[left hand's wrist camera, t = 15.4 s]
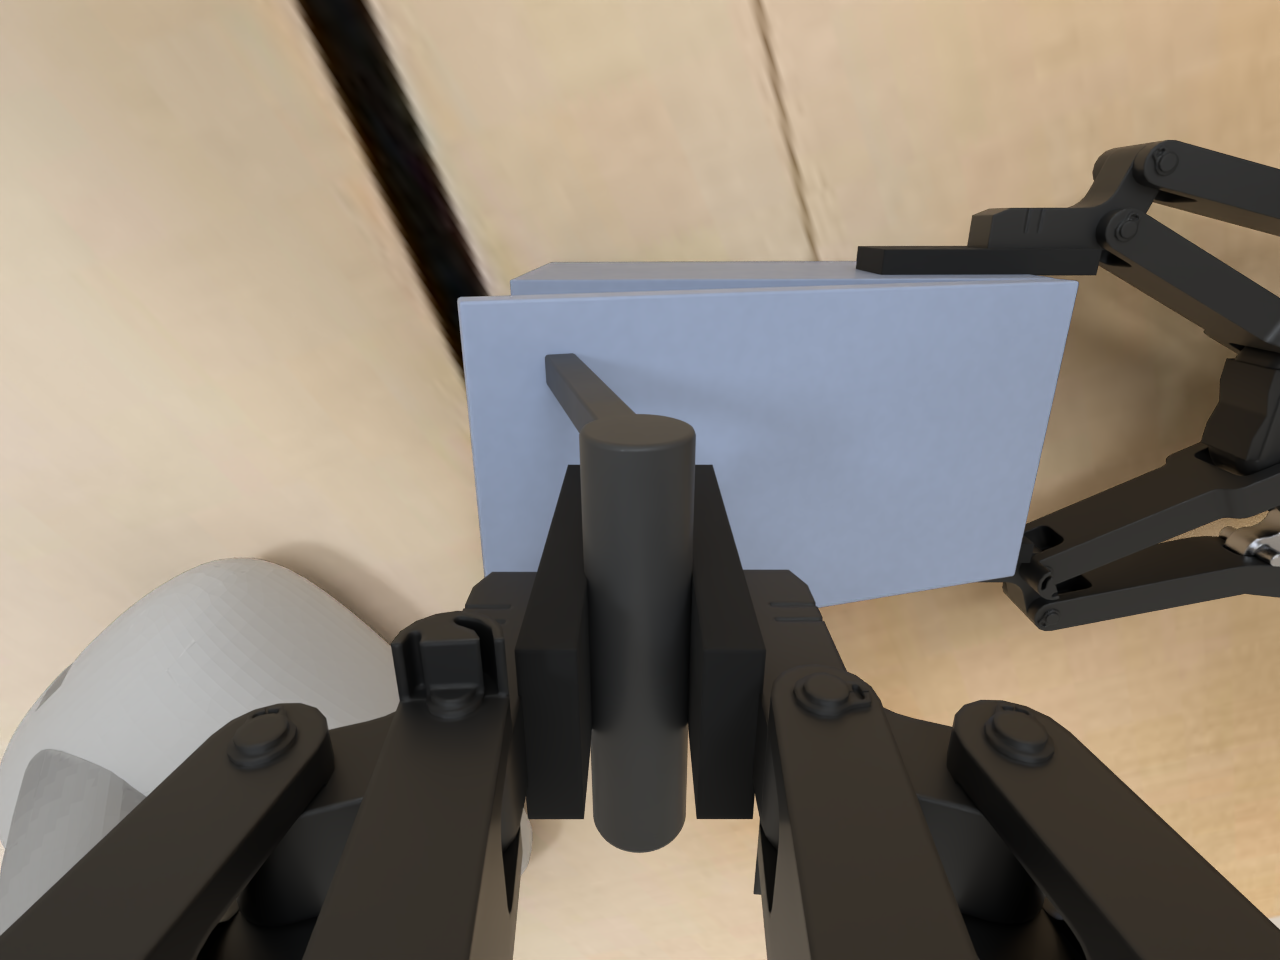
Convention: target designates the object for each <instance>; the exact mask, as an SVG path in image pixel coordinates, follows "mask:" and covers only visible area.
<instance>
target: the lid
mask: <svg viewBox="0 0 1280 960" xmlns="http://www.w3.org/2000/svg"><path fill="white" fill-rule="evenodd" d="M1078 285H1079V282H1077V281H1074V280H1064V279H1053V278H1052V279H1020V280H989V281H957V282H925V283H894V284H862V285H830V286H799V287H767V288H735V289H704V290H672V291H640V292H609V293H577V294H545V295H514V296H482V297H460V298H458V301H457V302H458V313H459V323H460V333H461V343H462V353H463V363H464V374H465V384H466V394H467V404H468V414H469V424H470V435H471V445H472V455H473V465H474V475H475V485H476V496H477V506H478V516H479V526H480V536H481V546H482V557H483V567H484V577H486V576H488V575H489V574H490V573H491V572H537V570H538V567H539V563H540V560H541V556H542V553H543V550H544V546H545V543H546V539H547V536H548V532H549V529H550V525H551V522H552V518H553V515H554V512H555V508H556V505H557V501H558V498H559V494H560V491H561V487H562V484H563V480H564V477H565V474H566V470H567V467H568V465H580V477H581V504H582V530H583V556H584V573H585V576H586V577H587V584H588V615H589V645H590V676H591V706H592V736H591V766H592V793H593V817H594V822H595V825H596V827H597V829H598V831H599V832H600V834H601V835H602V837H603V838H604V839H605V840H606V841H607V842H609V843H610V844H611V845H613V846H615V847H617V848H619V849H621V850H624V851H628V852H636V853H643V852H650V851H654V850H657V849H660V848H662V847H664V846H666V845H667V844H669V843H670V842H671V841H673V840H674V839H675V837H676V836H677V835H678V834H679V832H680V831H681V829H682V827H683V825H684V822H685V817H686V785H687V748H688V697H689V663H690V629H691V595H692V563H693V526H694V489H695V465H713V468H714V471H715V475H716V478H717V482H718V485H719V489H720V492H721V496H722V499H723V503H724V506H725V509H726V513H727V516H728V520H729V523H730V527H731V530H732V534H733V537H734V541H735V544H736V547H737V551H738V554H739V558H740V561H741V565H742V568H743V570H790V571H791V572H792V573H793V574H795V575H796V576H797V577H798V578H800V579H801V580H802V581H803V582H805V583H806V584H807V585H808V587H809V589H810V591H811V593H812V596H813V598H814V600H815V602H816V606H817V607H818V608H820V607H826V606H832V605H838V604H845V603H851V602H857V601H863V600H869V599H875V598H881V597H887V596H893V595H900V594H906V593H912V592H918V591H924V590H930V589H936V588H942V587H948V586H955V585H961V584H967V583H973V582H979V581H985V580H991V579H997V578H1003V577H1009V576H1013V575H1014V574H1015V570H1016V565H1017V561H1018V556H1019V551H1020V547H1021V542H1022V538H1023V533H1024V529H1025V524H1026V520H1027V515H1028V511H1029V506H1030V502H1031V497H1032V493H1033V488H1034V484H1035V479H1036V475H1037V470H1038V466H1039V461H1040V457H1041V452H1042V448H1043V443H1044V439H1045V434H1046V430H1047V425H1048V421H1049V416H1050V411H1051V407H1052V402H1053V398H1054V393H1055V389H1056V384H1057V380H1058V375H1059V371H1060V366H1061V362H1062V357H1063V353H1064V348H1065V344H1066V339H1067V335H1068V330H1069V326H1070V321H1071V317H1072V312H1073V308H1074V303H1075V299H1076V294H1077V290H1078Z"/></svg>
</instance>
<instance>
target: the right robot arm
mask: <svg viewBox="0 0 1280 960" xmlns="http://www.w3.org/2000/svg"><path fill="white" fill-rule="evenodd" d="M1093 180H1094V182H1093V184H1092V186H1091V188H1090V190H1089V191H1088V193H1087V194H1086V196H1085V197H1084V198H1083V199H1082V200H1081V201H1080V202H1078V203H1077V204H1075V205H1074V206H1071V207H1068V208H997V209H987V210H985V211H982V212H980V213H977V214H975V215H972V221H971V227H970V233H969V239H968V245H967V246H858V252H857V261H856V269H858V270H862V271H867V272H871V273H875V274H879V275H1015V274H1030V275H1096V274H1097V269H1098V265H1099V266H1101V267H1102V268H1104V269H1106V270H1107V271H1109V272H1111V273H1112V274H1114V275H1116V276H1117V277H1119V278H1121V279H1122V280H1124V281H1126V282H1127V283H1129V284H1131V285H1132V286H1134V287H1136V288H1137V289H1139V290H1140V291H1142V292H1144V293H1145V294H1147V295H1149V296H1150V297H1152V298H1154V299H1155V300H1157V301H1159V302H1160V303H1162V304H1164V305H1165V306H1167V307H1169V308H1170V309H1172V310H1173V311H1175V312H1177V313H1178V314H1180V315H1182V316H1183V317H1185V318H1187V319H1188V320H1190V321H1192V322H1193V323H1195V324H1197V325H1198V326H1200V327H1202V328H1203V329H1205V331H1204V333H1205V334H1206V335H1208V336H1209V337H1211V338H1212V339H1214V340H1216V341H1217V342H1219V343H1221V344H1222V345H1224V346H1226V347H1227V348H1229V349H1231V350H1232V351H1234V352H1236V353H1237V354H1238V355H1237V357H1236V358H1235V359H1226V362H1225V365H1224V369H1223V372H1222V375H1221V378H1220V396H1219V403H1218V405H1217V406H1216V408H1215V410H1214V411H1213V413H1212V415H1211V416H1210V418H1209V420H1208V422H1207V424H1206V427H1205V430H1204V433H1203V437H1202V440H1201V442H1200V443H1197V444H1195V445H1193V446H1190V447H1188V448H1186V449H1183V450H1181V451H1178V452H1176V453H1174V454H1172V455H1170V456H1168V457H1167V459H1166V464H1165V465H1164V466H1163V467H1160V468H1158V469H1156V470H1153V471H1151V472H1149V473H1146V474H1144V475H1141V476H1139V477H1137V478H1134V479H1132V480H1130V481H1127V482H1125V483H1122V484H1120V485H1118V486H1115V487H1113V488H1110V489H1108V490H1106V491H1103V492H1101V493H1099V494H1096V495H1094V496H1091V497H1089V498H1087V499H1084V500H1082V501H1080V502H1077V503H1075V504H1072V505H1070V506H1068V507H1065V508H1063V509H1061V510H1058V511H1056V512H1053V513H1051V514H1049V515H1046V516H1044V517H1042V518H1039V519H1037V520H1034V521H1032V522H1030V523H1027V524H1025V529H1024V533H1023V538H1022V542H1021V547H1020V551H1019V556H1018V561H1017V565H1016V570H1015V574H1014V575H1013V576H1009V577H1003V578H997V579H991V580H985V581H979V582H1003V587H1002V588H1003V591H1004V593H1005V594H1006V595H1007V596H1008V597H1009V598H1010V599H1011V600H1012V601H1013V602H1014V604H1015V605H1016V606H1017V607H1018V608H1019V609H1020V610H1021V611H1022V612H1023V613H1024V614H1025V615H1026V616H1027V617H1028V618H1029V619H1030V620H1031V621H1032V622H1033V623H1034V624H1035V625H1036V626H1037V627H1038V628H1039V629H1041V630H1044V631H1052V630H1057V629H1063V628H1068V627H1073V626H1078V625H1084V624H1089V623H1094V622H1099V621H1105V620H1110V619H1115V618H1120V617H1126V616H1131V615H1136V614H1141V613H1147V612H1152V611H1157V610H1162V609H1168V608H1173V607H1178V606H1183V605H1189V604H1194V603H1199V602H1204V601H1210V600H1215V599H1220V598H1225V597H1231V596H1236V595H1241V594H1252V595H1261V596H1271V597H1280V298H1279V297H1277V296H1276V295H1274V294H1273V293H1271V292H1269V291H1268V290H1266V289H1265V288H1263V287H1261V286H1260V285H1258V284H1257V283H1255V282H1254V281H1252V280H1250V279H1249V278H1247V277H1246V276H1244V275H1242V274H1241V273H1239V272H1238V271H1236V270H1234V269H1233V268H1231V267H1230V266H1228V265H1227V264H1225V263H1223V262H1222V261H1220V260H1219V259H1217V258H1215V257H1214V256H1212V255H1211V254H1209V253H1207V252H1206V251H1204V250H1203V249H1201V248H1200V247H1198V246H1196V245H1195V244H1193V243H1192V242H1190V241H1188V240H1187V239H1185V238H1184V237H1182V236H1180V235H1179V234H1177V233H1176V232H1174V231H1172V230H1171V229H1169V228H1168V227H1166V226H1165V225H1163V224H1161V223H1160V222H1158V221H1157V220H1155V219H1153V218H1152V217H1150V216H1149V215H1147V214H1146V213H1147V211H1148V209H1149V207H1150V206H1151V204H1152V202H1154V203H1158V204H1162V205H1165V206H1169V207H1173V208H1176V209H1180V210H1184V211H1188V212H1191V213H1195V214H1199V215H1202V216H1206V217H1210V218H1213V219H1217V220H1221V221H1225V222H1228V223H1232V224H1236V225H1239V226H1243V227H1247V228H1250V229H1254V230H1258V231H1261V232H1265V233H1269V234H1273V235H1276V236H1280V169H1277V168H1273V167H1270V166H1266V165H1262V164H1259V163H1255V162H1252V161H1248V160H1244V159H1241V158H1237V157H1234V156H1230V155H1226V154H1223V153H1219V152H1216V151H1212V150H1209V149H1205V148H1201V147H1198V146H1194V145H1191V144H1187V143H1183V142H1180V141H1176V140H1165V141H1158V142H1152V143H1146V144H1139V145H1133V146H1126V147H1120V148H1113V149H1111V150H1108V151H1106V152H1104V153H1103V154H1102V155H1101V156H1100V157H1099V158H1098V160H1097V161H1096V163H1095V165H1094V169H1093ZM1267 510H1268V511H1269V513H1268V514H1267V516H1266V517H1265V518H1264V519H1263V520H1262V521H1261V522H1259V523H1258V524H1256V525H1253V526H1249V527H1242V528H1239V529H1236V528H1234V527H1231V526H1228V527H1225V528H1223V529H1222V530H1221V531H1220V533H1219V537H1214V536H1201V537H1191V538H1184V539H1179V540H1174V541H1169V542H1164V543H1160V542H1163V541H1165V540H1168V539H1170V538H1173V537H1175V536H1178V535H1180V534H1183V533H1185V532H1188V531H1190V530H1193V529H1195V528H1198V527H1200V526H1203V525H1205V524H1208V523H1210V522H1213V521H1215V520H1218V519H1221V518H1238V519H1240V518H1248V517H1251V516H1254V515H1257V514H1259V513H1262V512H1264V511H1267ZM1158 543H1159V544H1158Z"/></svg>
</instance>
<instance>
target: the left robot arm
mask: <svg viewBox="0 0 1280 960" xmlns="http://www.w3.org/2000/svg"><path fill="white" fill-rule="evenodd" d="M391 650H392V656H393V662H394V669H395V675H396V681H397V687H398V694H399V700H400V701H399V704H398V707H397V709H396V711H395V712H393V713H391V714H388V715H386V716H383V717H380V718H376V719H373V720H370V721H366V722H361V723H357V724H352V725H348V726H343V727H339V728H334V729H330V730H329V729H328V724H327V719H326V717H325V716H324V715H323V714H322V713H321V712H320V711H319V710H318V708H316V707H312V706H309V705H306V704H303V703H278V704H274V705H270V706H266V707H262V708H258V709H255V710H252V711H250V712H248V713H246V714H244V715H242V716H240V717H237V718H235V719H233V720H231V721H230V722H228V723H227V724H226V725H224V726H223V727H222V728H220V729H219V730H218V731H216V732H215V733H214V734H212V735H211V736H210V737H209V738H208V739H207V740H206V741H205V742H204V743H203V744H202V745H201V746H199V747H198V748H197V749H196V750H195V751H194V752H193V753H192V754H191V755H190V756H189V757H188V758H187V759H186V760H185V761H184V762H183V763H182V764H181V765H179V766H178V767H177V768H176V769H175V770H174V771H173V772H172V773H171V774H170V775H169V776H168V777H167V778H166V779H165V780H164V781H163V782H162V783H161V784H159V785H158V786H157V787H156V788H155V789H154V790H153V791H152V792H151V793H150V794H149V795H148V796H147V797H146V798H145V799H144V800H143V801H142V802H141V803H139V804H138V805H137V806H136V807H135V808H134V809H133V810H132V811H131V812H130V813H129V814H128V815H127V816H126V817H125V818H124V819H123V820H122V821H120V822H119V823H118V824H117V825H116V826H115V827H114V828H113V829H112V830H111V831H110V832H109V833H108V834H107V835H106V836H105V837H104V838H103V839H102V840H100V841H99V842H98V843H97V844H96V845H95V846H94V847H93V848H92V849H91V850H90V851H89V852H88V853H87V854H86V855H85V856H84V857H83V858H82V859H80V860H79V861H78V862H77V863H76V864H75V865H74V866H73V867H72V868H71V869H70V870H69V871H68V872H67V873H66V874H65V875H64V876H63V877H62V878H60V879H59V880H58V881H57V882H56V883H55V884H54V885H53V886H52V887H51V888H50V889H49V890H48V891H47V892H46V893H45V894H44V895H43V896H42V897H40V898H39V899H38V900H37V901H36V902H35V903H34V904H33V905H32V906H31V907H30V908H29V909H28V910H27V911H26V912H25V913H24V914H23V915H22V916H20V917H19V918H18V919H17V920H16V921H15V922H14V923H13V924H12V925H11V926H10V927H9V928H8V929H7V930H6V931H5V932H4V933H3V934H2V935H0V960H513V951H514V941H515V930H516V919H517V909H518V898H519V887H520V877H521V866H522V855H523V849H522V837H521V825H520V823H521V818H522V813H523V808H524V802H525V797H526V801H527V814H528V819H584V811H585V800H586V790H587V779H588V768H589V757H590V747H591V736H592V706H591V676H590V645H589V615H588V584H587V577H586V576H585V573H584V556H583V530H582V504H581V477H580V465H568V467H567V470H566V474H565V477H564V480H563V484H562V487H561V491H560V494H559V498H558V501H557V505H556V508H555V512H554V515H553V518H552V522H551V525H550V529H549V532H548V536H547V539H546V543H545V546H544V550H543V553H542V556H541V560H540V563H539V567H538V570H537V572H491V573H490V574H489V575H488V576H486V577H485V578H484V579H483V580H481V581H480V582H479V583H478V584H476V585H475V586H474V587H473V589H472V591H471V593H470V595H469V598H468V600H467V602H466V604H465V609H463V611H454V612H447V613H440V614H435V615H432V616H429V617H426V618H424V619H421V620H418V621H416V622H414V623H413V624H411V625H410V626H408V627H406V628H405V629H403V630H402V631H400V632H399V634H398V635H397V636H396V638H395V639H394V640H393V641H392V643H391ZM688 730H689V741H690V751H691V762H692V773H693V784H694V794H695V805H696V816H697V819H753V808H754V795H755V796H756V801H757V806H758V811H759V816H760V825H759V837H758V849H757V860H756V872H755V883H754V894H759V895H761V897H762V907H763V918H764V929H765V939H766V950H767V960H1280V929H1279V928H1277V927H1276V926H1275V925H1274V924H1273V923H1272V922H1271V921H1270V920H1269V919H1268V918H1267V917H1266V916H1265V915H1264V914H1263V913H1262V912H1260V911H1259V910H1258V909H1257V908H1256V907H1255V906H1254V905H1253V904H1252V903H1251V902H1250V901H1249V900H1248V899H1247V898H1246V897H1245V896H1244V895H1242V894H1241V893H1240V892H1239V891H1238V890H1237V889H1236V888H1235V887H1234V886H1233V885H1232V884H1231V883H1230V882H1229V881H1228V880H1227V879H1225V878H1224V877H1223V876H1222V875H1221V874H1220V873H1219V872H1218V871H1217V870H1216V869H1215V868H1214V867H1213V866H1212V865H1211V864H1210V863H1208V862H1207V861H1206V860H1205V859H1204V858H1203V857H1202V856H1201V855H1200V854H1199V853H1198V852H1197V851H1196V850H1195V849H1194V848H1193V847H1192V846H1190V845H1189V844H1188V843H1187V842H1186V841H1185V840H1184V839H1183V838H1182V837H1181V836H1180V835H1179V834H1178V833H1177V832H1176V831H1175V830H1173V829H1172V828H1171V827H1170V826H1169V825H1168V824H1167V823H1166V822H1165V821H1164V820H1163V819H1162V818H1161V817H1160V816H1159V815H1158V814H1156V813H1155V812H1154V811H1153V810H1152V809H1151V808H1150V807H1149V806H1148V805H1147V804H1146V803H1145V802H1144V801H1143V800H1142V799H1141V798H1140V797H1138V796H1137V795H1136V794H1135V793H1134V792H1133V791H1132V790H1131V789H1130V788H1129V787H1128V786H1127V785H1126V784H1125V783H1124V782H1123V781H1121V780H1120V779H1119V778H1118V777H1117V776H1116V775H1115V774H1114V773H1113V772H1112V771H1111V770H1110V769H1109V768H1108V767H1107V766H1106V765H1104V764H1103V763H1102V762H1101V761H1100V760H1099V759H1098V758H1097V757H1096V756H1095V755H1094V754H1093V753H1092V752H1091V751H1090V750H1089V749H1087V748H1086V747H1085V746H1084V745H1083V744H1082V743H1081V742H1080V741H1079V740H1078V739H1077V738H1076V737H1075V736H1074V735H1073V734H1072V733H1071V732H1069V731H1068V730H1067V729H1065V728H1064V727H1063V726H1061V725H1060V724H1058V723H1057V722H1056V721H1054V720H1053V719H1052V718H1050V717H1048V716H1046V715H1044V714H1042V713H1040V712H1037V711H1035V710H1033V709H1031V708H1029V707H1027V706H1023V705H1019V704H1015V703H1011V702H1007V701H1003V700H979V701H976V702H972V703H969V704H966V705H964V706H963V707H962V708H961V709H960V710H959V711H958V712H957V713H956V714H955V717H954V722H953V727H950V726H946V725H941V724H937V723H932V722H928V721H923V720H919V719H914V718H911V717H907V716H904V715H900V714H897V713H894V712H892V711H890V710H888V709H886V708H883V706H882V703H881V700H880V699H879V697H878V696H877V694H876V693H875V691H874V690H873V688H872V687H871V686H870V685H868V684H867V683H866V682H864V681H863V680H862V679H860V678H859V677H857V676H856V675H854V674H851V673H849V672H847V671H846V668H845V666H844V664H843V662H842V660H841V657H840V655H839V653H838V651H837V649H836V646H835V644H834V642H833V640H832V638H831V635H830V633H829V631H828V629H827V627H826V624H825V622H824V621H822V616H821V613H820V611H819V609H818V607H817V606H816V602H815V600H814V598H813V596H812V593H811V591H810V589H809V587H808V585H807V584H806V583H805V582H803V581H802V580H801V579H800V578H798V577H797V576H796V575H795V574H793V573H792V572H791V571H790V570H743V568H742V565H741V561H740V558H739V554H738V551H737V547H736V544H735V541H734V537H733V534H732V530H731V527H730V523H729V520H728V516H727V513H726V509H725V506H724V503H723V499H722V496H721V492H720V489H719V485H718V482H717V478H716V475H715V471H714V468H713V465H695V489H694V526H693V563H692V595H691V629H690V663H689V697H688Z"/></svg>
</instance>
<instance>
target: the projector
mask: <svg viewBox="0 0 1280 960" xmlns="http://www.w3.org/2000/svg"><path fill="white" fill-rule="evenodd" d="M399 701H400V700H399V694H398V687H397V681H396V675H395V669H394V662H393V656H392V650H391V646H390V645H389V644H388V643H387V642H386V641H385V640H383V639H382V638H381V637H380V636H379V635H378V634H377V633H376V632H375V631H373V630H372V629H371V628H370V627H369V626H368V625H366V624H365V623H364V622H363V621H362V620H361V619H359V618H358V617H357V616H356V615H355V614H353V613H352V612H351V611H350V610H349V609H347V608H346V607H345V606H343V605H342V604H341V603H340V602H338V601H337V600H336V599H334V598H333V597H332V596H331V595H329V594H328V593H327V592H325V591H324V590H322V589H321V588H319V587H318V586H316V585H315V584H313V583H312V582H310V581H309V580H308V579H306V578H304V577H302V576H300V575H299V574H297V573H295V572H293V571H291V570H290V569H288V568H285V567H283V566H280V565H278V564H275V563H272V562H268V561H265V560H259V559H252V558H230V559H221V560H216V561H212V562H208V563H205V564H201V565H199V566H197V567H195V568H192V569H190V570H188V571H186V572H184V573H182V574H180V575H178V576H176V577H174V578H173V579H171V580H169V581H167V582H166V583H164V584H162V585H161V586H159V587H157V588H156V589H154V590H153V591H151V592H150V593H149V594H147V595H146V596H144V597H143V598H142V599H140V600H139V601H138V602H136V603H135V604H134V605H132V606H131V607H130V608H129V609H127V610H126V611H125V612H124V613H123V614H121V615H120V616H119V617H118V618H117V619H116V620H115V621H114V622H112V623H111V624H110V625H109V626H108V627H107V628H106V629H105V630H104V631H102V632H101V633H100V634H99V635H98V636H97V637H96V638H95V639H94V640H93V641H92V642H91V643H90V644H89V645H88V646H87V647H86V648H85V649H84V650H83V651H82V652H81V654H80V655H79V656H78V657H77V659H76V660H75V661H74V662H73V663H72V664H71V665H70V666H68V667H67V668H66V669H65V670H64V671H63V672H62V673H61V674H60V675H59V676H58V677H57V678H56V679H55V680H54V681H53V682H52V683H51V685H50V686H49V687H48V688H47V689H46V690H45V691H44V692H43V694H42V695H41V696H40V697H39V698H38V700H37V701H36V702H35V703H34V705H33V706H32V707H31V709H30V710H29V711H28V713H27V714H26V715H25V717H24V718H23V720H22V721H21V723H20V724H19V726H18V727H17V729H16V731H15V733H14V734H13V736H12V738H11V740H10V742H9V744H8V746H7V749H6V751H5V754H4V756H3V758H2V762H1V765H0V840H1V842H2V844H3V846H4V848H5V852H4V857H3V861H2V866H1V872H0V935H2V934H3V933H4V932H5V931H6V930H7V929H8V928H9V927H10V926H11V925H12V924H13V923H14V922H15V921H16V920H17V919H18V918H19V917H20V916H22V915H23V914H24V913H25V912H26V911H27V910H28V909H29V908H30V907H31V906H32V905H33V904H34V903H35V902H36V901H37V900H38V899H39V898H40V897H42V896H43V895H44V894H45V893H46V892H47V891H48V890H49V889H50V888H51V887H52V886H53V885H54V884H55V883H56V882H57V881H58V880H59V879H60V878H62V877H63V876H64V875H65V874H66V873H67V872H68V871H69V870H70V869H71V868H72V867H73V866H74V865H75V864H76V863H77V862H78V861H79V860H80V859H82V858H83V857H84V856H85V855H86V854H87V853H88V852H89V851H90V850H91V849H92V848H93V847H94V846H95V845H96V844H97V843H98V842H99V841H100V840H102V839H103V838H104V837H105V836H106V835H107V834H108V833H109V832H110V831H111V830H112V829H113V828H114V827H115V826H116V825H117V824H118V823H119V822H120V821H122V820H123V819H124V818H125V817H126V816H127V815H128V814H129V813H130V812H131V811H132V810H133V809H134V808H135V807H136V806H137V805H138V804H139V803H141V802H142V801H143V800H144V799H145V798H146V797H147V796H148V795H149V794H150V793H151V792H152V791H153V790H154V789H155V788H156V787H157V786H158V785H159V784H161V783H162V782H163V781H164V780H165V779H166V778H167V777H168V776H169V775H170V774H171V773H172V772H173V771H174V770H175V769H176V768H177V767H178V766H179V765H181V764H182V763H183V762H184V761H185V760H186V759H187V758H188V757H189V756H190V755H191V754H192V753H193V752H194V751H195V750H196V749H197V748H198V747H199V746H201V745H202V744H203V743H204V742H205V741H206V740H207V739H208V738H209V737H210V736H211V735H212V734H214V733H215V732H216V731H218V730H219V729H220V728H222V727H223V726H224V725H226V724H227V723H228V722H230V721H231V720H233V719H235V718H237V717H240V716H242V715H244V714H246V713H248V712H250V711H252V710H255V709H258V708H262V707H266V706H270V705H274V704H278V703H303V704H306V705H309V706H312V707H316V708H318V710H319V711H320V712H321V713H322V714H323V715H324V716H325V717H326V719H327V724H328V729H329V730H330V729H334V728H339V727H343V726H348V725H352V724H357V723H361V722H366V721H370V720H373V719H376V718H380V717H383V716H386V715H388V714H391V713H393V712H395V711H396V709H397V707H398V704H399ZM520 825H521V837H522V849H523V855H522V866H521V875H522V874H523V872H524V871H525V869H526V868H527V865H528V863H529V859H530V854H531V850H532V827H531V824H530V820H529V819H528V816H527V814H526V811H525V809H524V808H523V813H522V818H521V823H520Z"/></svg>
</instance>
